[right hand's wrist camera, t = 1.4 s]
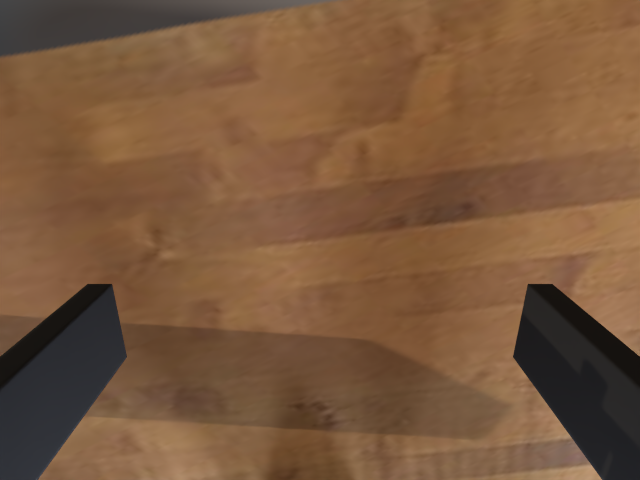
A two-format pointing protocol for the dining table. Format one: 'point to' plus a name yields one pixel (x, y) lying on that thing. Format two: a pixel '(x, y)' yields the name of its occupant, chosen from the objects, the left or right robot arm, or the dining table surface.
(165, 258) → the dining table surface
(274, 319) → the dining table surface
